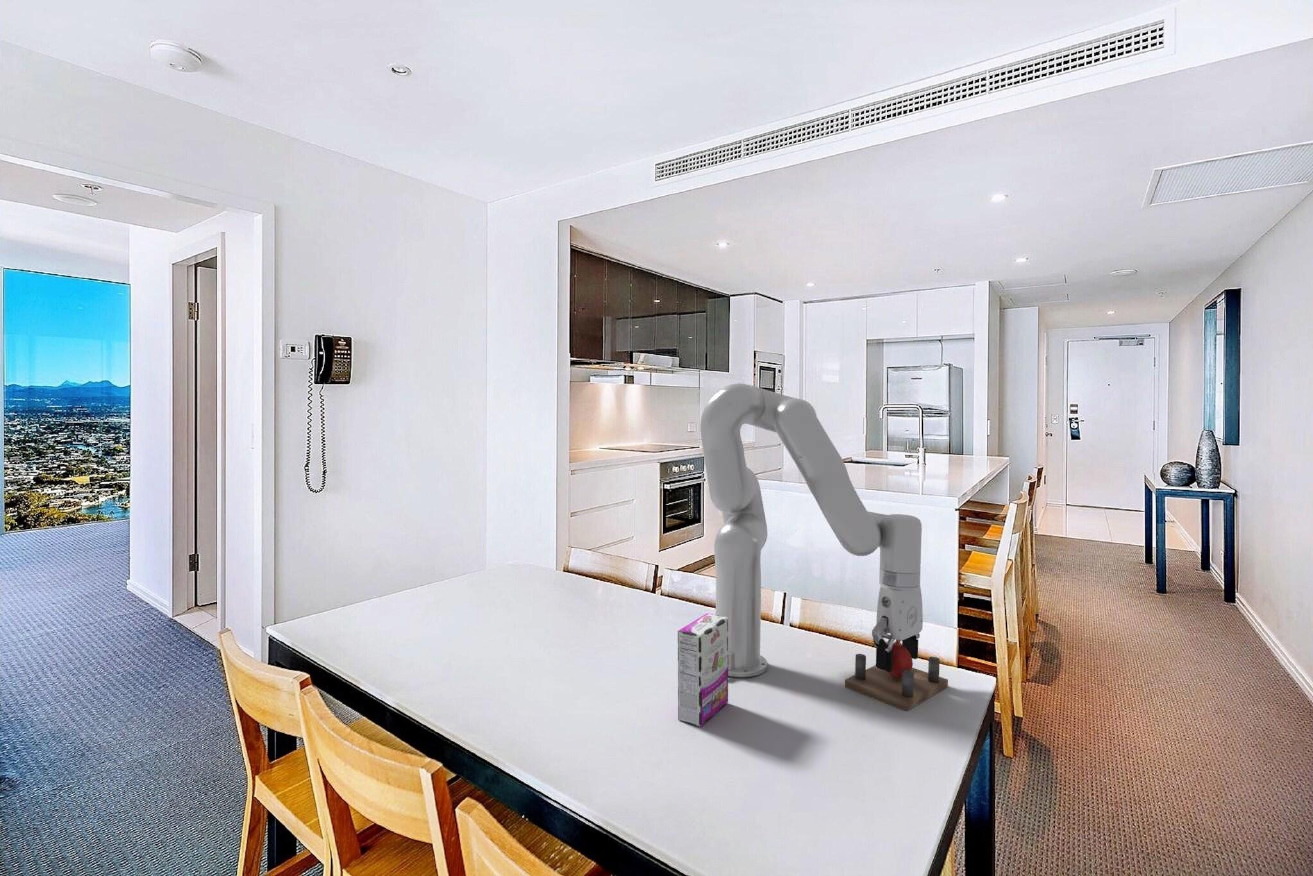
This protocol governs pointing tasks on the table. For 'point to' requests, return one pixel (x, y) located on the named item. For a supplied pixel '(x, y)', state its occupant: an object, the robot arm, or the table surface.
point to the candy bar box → (702, 669)
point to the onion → (900, 660)
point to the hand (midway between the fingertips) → (897, 663)
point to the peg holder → (897, 683)
